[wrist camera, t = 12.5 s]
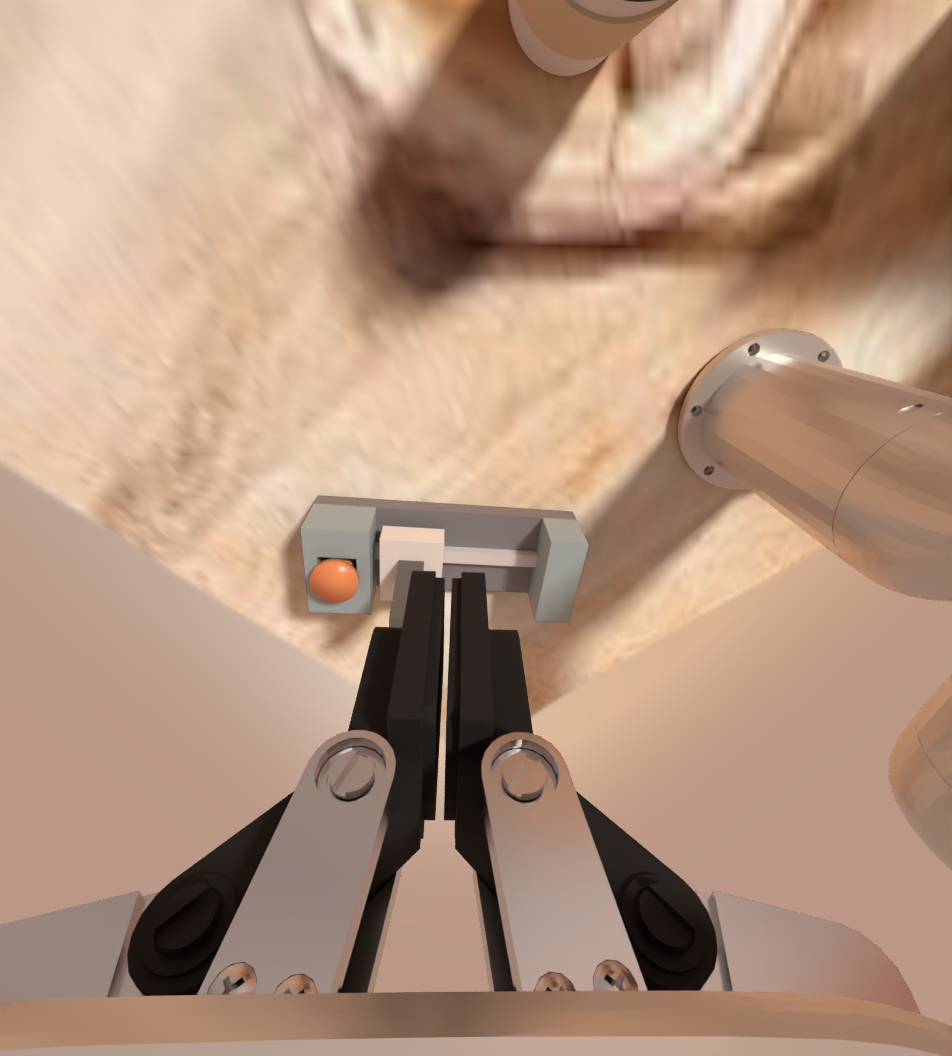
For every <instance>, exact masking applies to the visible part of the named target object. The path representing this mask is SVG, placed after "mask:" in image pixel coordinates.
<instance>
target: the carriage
mask: <svg viewBox="0 0 952 1056" xmlns="http://www.w3.org/2000/svg"><path fill="white" fill-rule="evenodd" d="M443 554H444V529H432V528H415V527H398V526H383V528H382V532H381V536H380V601H392V605H391V611H390V617H389V627H395V628H402V625H403V620H404V614H405V608H406V602H407V596H408V591H409V585H410V579H411V573H412V571H436V577H438V578H442V567H443Z"/></svg>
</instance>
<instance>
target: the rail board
mask: <svg viewBox="0 0 952 1056" xmlns="http://www.w3.org/2000/svg"><path fill="white" fill-rule="evenodd" d="M383 526H398V527H415V528H432V529H444V554H443V567H442V578H445V589H452V578H461V574H462V572H484V573H485V581H486V591H506V592H527V593H528V594H529V598H530V602H531V606H532V611H533V615H534V619H535V621H543V622H567V623H569V620H570V617H571V613H572V609H573V605H574V601H575V597H576V593H577V589H578V585H579V581H580V578H581V574H582V570H583V566H584V562H585V558H586V554H587V550H588V546H589V544H588V542H587V540H586V538H585V536H584V534H583V532H582V530H581V528H580V525H579V523H578V521H577V519H576V517H575V515H574V513H573V512H569V511H553V510H537V509H522V508H506V507H491V506H475V505H459V504H444V503H428V502H412V501H397V500H381V499H366V498H350V497H334V496H319V495H318V497H317V499H316V501H315V502H314V504H313V506H312V508H311V510H310V511H309V513H308V515H307V517H306V519H305V521H304V522H303V524H302V526H301V528H300V529H301V539H302V549H303V559H304V569H305V578H306V588H307V598H308V608H309V612H324V613H348V614H371V609H372V605H373V600H374V596H375V591H376V587H377V585H378V586H380V536H381V532H382V528H383ZM328 557H329V558H348V559H356V564H355V567H354V568H355V569H356V570H357V572H358V574H359V578H360V581H359V586H358V589H357V592H356V594H355V595H354V596H353V597H352V598H351V599H349V600H347V601H345V602H340V603H332V602H328V601H325V600H322V599H321V598H319V597H318V596H316V595H315V594H314V592H313V591H312V589H311V587H310V576H311V574H312V572H313V569H314V568H315V566H316V565H317V564H318V563H320V562H321V561H324V560H327V559H328Z"/></svg>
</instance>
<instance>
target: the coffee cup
mask: <svg viewBox="0 0 952 1056" xmlns="http://www.w3.org/2000/svg"><path fill="white" fill-rule="evenodd" d="M677 1H678V0H508V7H509V14H510V19H511V24H512V27H513V30H514V33H515V36H516V38H517V40H518V43H519V44H520V46H521V48H522V50H523V51H524V53H525V54H526V55H527V57H528V58H529V59H530V60H531V61H532V62H533V63H534V64H535V65H536V66H538V67H539V68H541V69H542V70H544V71H546V72H548V73H550V74H553V75H558V76H574V75H578V74H582V73H584V72H587V71H588V70H590V69H592V68H594V67H595V66H596V65H598V64H599V63H600V62H601V61H603V60H604V59H605V58H606V57H607V56H608V55H609V54H611V53H613V52H614V51H616V50H618V49H620V48H621V47H622V46H624V45H625V44H626V43H628V42H629V41H630V40H631V39H632V38H634V37H635V36H636V35H637V34H638V33H640V32H641V31H642V30H643V29H644V28H646V27H647V26H648V25H649V24H650V23H652V22H653V21H654V20H655V19H656V18H658V17H659V16H660V15H661V14H662V13H663V12H665V11H666V10H667V9H668V8H669V7H671V6H672V5H673V4H674V3H675V2H677Z"/></svg>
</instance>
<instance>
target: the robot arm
mask: <svg viewBox="0 0 952 1056" xmlns="http://www.w3.org/2000/svg"><path fill="white" fill-rule="evenodd" d="M749 347H750V348H749ZM748 348H749V350H748ZM693 407H694V409H693V410H692V408H693ZM691 410H692V411H691ZM678 441H679V445H680V449H681V453H682V455H683V457H684V459H685V461H686V463H687V464H688V465H689V466H690V467H691V468H692V470H693V471H694V472H695V473H696V474H698V475H699V476H700V477H701V478H703V479H704V480H706V481H708V482H710V483H711V484H713V485H716V486H720V487H723V488H729V489H746V488H749V489H750V490H751V491H753V492H754V493H755V494H757V495H758V496H759V497H761V498H762V499H763V500H765V501H766V502H767V503H769V504H770V505H771V506H773V507H774V508H775V509H777V510H778V511H779V512H780V513H782V514H783V515H784V516H786V517H787V518H788V519H790V520H791V521H792V522H794V523H795V524H796V525H798V526H799V527H800V528H802V529H803V530H804V531H805V532H807V533H808V534H809V535H811V536H812V537H813V538H815V539H816V540H817V541H819V542H820V543H821V544H823V545H824V546H825V547H827V548H828V549H829V550H831V551H832V552H833V553H834V554H836V555H837V556H839V557H840V558H841V559H842V560H844V561H845V562H846V563H848V564H849V565H851V566H852V567H854V568H855V569H856V570H858V571H859V572H860V573H862V574H863V575H864V576H866V577H867V578H869V579H870V580H872V581H873V582H875V583H877V584H879V585H881V586H883V587H885V588H887V589H889V590H892V591H895V592H898V593H901V594H904V595H907V596H911V597H915V598H921V599H928V600H937V601H952V397H948V396H945V395H941V394H937V393H934V392H930V391H926V390H923V389H919V388H915V387H912V386H908V385H904V384H901V383H897V382H893V381H890V380H886V379H882V378H879V377H875V376H871V375H868V374H864V373H860V372H857V371H853V370H849V369H846V368H843V367H842V363H841V360H840V359H839V357H838V355H837V354H836V352H835V350H834V349H833V348H832V347H831V346H830V345H829V344H828V343H826V342H825V341H824V340H823V339H821V338H819V337H817V336H815V335H813V334H810V333H806V332H802V331H798V330H789V329H776V330H766V331H763V332H760V333H756V334H753V335H750V336H748V337H746V338H744V339H742V340H740V341H738V342H735V343H733V344H732V345H731V346H729V347H728V348H726V349H725V350H724V351H722V352H721V353H719V354H718V355H717V356H716V357H715V358H714V359H713V360H712V361H711V362H710V363H709V364H708V365H707V366H706V367H705V368H704V369H703V370H702V372H701V373H700V374H699V375H698V377H697V378H696V379H695V381H694V382H693V384H692V386H691V388H690V389H689V391H688V393H687V395H686V397H685V400H684V403H683V405H682V408H681V411H680V416H679V422H678ZM444 598H445V578H438V577H436V571H412V573H411V579H410V585H409V591H408V596H407V602H406V608H405V614H404V620H403V625H402V628H395V627H375V629H374V631H373V634H372V637H371V641H370V645H369V649H368V653H367V657H366V661H365V665H364V669H363V673H362V677H361V681H360V685H359V689H358V694H357V697H356V702H355V706H354V709H353V714H352V717H351V721H350V725H349V729H348V732H344V733H340V734H338V735H336V736H334V737H332V738H330V739H329V740H327V741H326V742H325V743H323V744H322V745H321V746H320V747H319V748H318V749H317V750H316V751H315V753H314V754H313V756H312V757H311V759H310V760H309V762H308V764H307V766H306V768H305V770H304V772H303V774H302V776H301V779H300V781H299V783H298V785H297V787H296V789H295V791H294V792H292V793H291V794H290V795H288V796H287V797H286V798H284V799H283V800H282V801H280V802H279V803H277V804H276V805H275V806H273V807H272V808H271V809H269V810H268V811H266V812H265V813H264V814H263V815H261V816H260V817H258V818H257V819H255V820H254V821H253V822H252V823H250V824H249V825H247V826H246V827H245V828H243V829H242V830H240V831H239V832H238V833H236V834H235V835H234V836H232V837H231V838H230V839H228V840H227V841H226V842H224V843H223V844H221V845H220V846H219V847H217V848H216V849H215V850H213V851H212V852H211V853H209V854H208V855H206V856H205V857H204V858H202V859H201V860H200V861H198V862H197V863H196V864H194V865H193V866H192V867H190V868H189V869H187V870H186V871H185V872H183V873H182V874H180V875H179V876H178V877H176V878H175V879H174V880H172V881H171V882H170V883H169V884H168V885H167V886H166V887H165V888H163V889H162V890H161V891H160V892H157V893H153V894H150V895H145V896H142V895H141V893H140V892H139V891H135V892H132V893H128V894H124V895H120V896H115V897H111V898H107V899H103V900H99V901H95V902H91V903H87V904H83V905H79V906H75V907H71V908H67V909H63V910H58V911H54V912H50V913H46V914H43V915H38V916H35V917H30V918H26V919H22V920H18V921H14V922H10V923H6V924H2V925H0V1056H952V1026H949V1025H946V1024H944V1023H941V1022H939V1021H936V1020H934V1019H931V1018H928V1017H926V1016H923V1015H921V1014H920V1011H919V1009H918V1007H917V1004H916V1002H915V1000H914V998H913V995H912V993H911V991H910V989H909V988H908V986H907V984H906V982H905V980H904V979H903V977H902V975H901V973H900V972H899V970H898V968H897V967H896V966H895V965H894V964H893V962H892V961H891V960H890V959H889V958H888V957H887V956H886V955H885V953H884V952H883V951H882V950H881V949H880V948H879V947H878V946H877V945H876V944H874V943H873V942H872V941H870V940H869V939H868V938H867V937H865V936H864V935H863V934H861V933H860V932H858V931H856V930H853V929H851V928H849V927H847V926H845V925H842V924H840V923H836V922H832V921H828V920H825V919H821V918H817V917H813V916H809V915H806V914H802V913H798V912H795V911H791V910H787V909H783V908H779V907H775V906H771V905H768V904H764V903H761V902H757V901H753V900H749V899H745V898H742V897H738V896H734V895H730V894H727V893H723V892H719V891H715V890H714V891H713V892H712V894H711V895H707V894H704V893H700V892H696V891H693V890H692V889H691V888H690V887H689V886H688V884H687V883H685V881H684V880H682V879H681V878H680V877H679V876H678V875H677V874H675V873H674V872H673V871H672V870H671V869H669V868H668V867H667V866H666V865H664V864H663V863H662V862H661V861H659V860H658V859H657V858H656V857H655V856H654V855H652V854H651V853H650V852H649V851H648V850H646V849H645V848H644V847H643V846H641V845H640V844H639V843H638V842H637V841H636V840H634V839H633V838H632V837H631V836H629V835H628V834H627V833H626V832H625V831H623V830H622V829H621V828H620V827H619V826H617V825H616V824H615V823H614V822H613V821H611V820H610V819H609V818H608V817H607V816H605V815H604V814H603V813H602V812H601V811H599V810H598V809H597V808H596V807H595V806H593V805H592V804H591V803H590V802H589V801H587V800H586V799H585V798H584V797H583V796H581V795H580V794H579V793H578V792H576V790H575V788H574V785H573V782H572V779H571V776H570V774H569V771H568V768H567V765H566V763H565V761H564V759H563V757H562V756H561V754H560V752H559V751H558V750H557V749H556V748H555V747H554V746H553V745H552V744H551V743H550V742H548V741H546V740H545V739H543V738H542V737H540V736H537V735H534V734H533V730H532V724H531V716H530V710H529V703H528V696H527V689H526V682H525V675H524V668H523V661H522V654H521V647H520V640H519V634H518V631H517V630H489V628H488V612H487V596H486V581H485V573H484V572H462V574H461V578H452V596H451V620H450V645H449V669H448V693H447V720H446V762H445V803H444V820H455V849H456V850H457V851H458V852H459V853H460V854H461V855H462V857H463V858H464V859H465V860H466V861H467V862H468V863H469V864H470V865H471V866H472V868H473V879H474V886H475V892H476V899H477V907H478V914H479V921H480V928H481V935H482V940H483V948H484V955H485V962H486V969H487V976H488V983H489V990H490V992H405V993H404V992H403V993H373V990H374V986H375V982H376V977H377V974H378V969H379V965H380V961H381V957H382V953H383V948H384V944H385V940H386V936H387V931H388V927H389V923H390V919H391V914H392V910H393V906H394V902H395V898H396V894H397V889H398V885H399V881H400V876H401V868H402V866H403V865H404V864H405V863H406V862H407V861H408V860H409V859H410V858H411V857H412V856H413V855H414V854H415V853H416V852H417V851H418V850H419V849H420V841H421V839H422V838H423V833H424V820H435V813H436V812H435V811H436V795H437V794H436V793H437V776H438V758H439V739H440V721H441V702H442V684H443V656H444ZM889 780H890V785H891V789H892V793H893V795H894V798H895V800H896V802H897V804H898V806H899V808H900V810H901V811H902V813H903V815H904V817H905V818H906V820H907V821H908V823H909V824H910V826H911V827H912V828H913V830H914V831H915V832H916V833H917V835H918V836H919V837H920V838H921V839H922V841H923V842H924V843H925V844H926V845H927V846H928V847H929V848H930V850H931V851H932V852H933V853H934V854H935V855H936V856H937V857H938V858H939V859H940V860H941V861H942V862H943V863H944V864H945V865H946V866H947V867H948V868H949V869H951V871H952V674H951V675H950V676H949V677H948V679H947V680H946V681H945V682H944V683H943V684H942V685H941V687H940V688H939V689H938V690H937V691H936V692H935V693H934V694H933V695H932V697H931V698H930V699H929V700H928V701H927V702H926V704H925V705H924V706H923V707H922V708H921V709H920V711H919V712H918V713H917V715H916V716H915V717H914V718H913V719H912V720H911V722H910V723H909V724H908V725H907V727H906V728H905V729H904V731H903V732H902V734H901V735H900V736H899V738H898V740H897V741H896V743H895V745H894V747H893V750H892V753H891V756H890V760H889Z"/></svg>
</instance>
